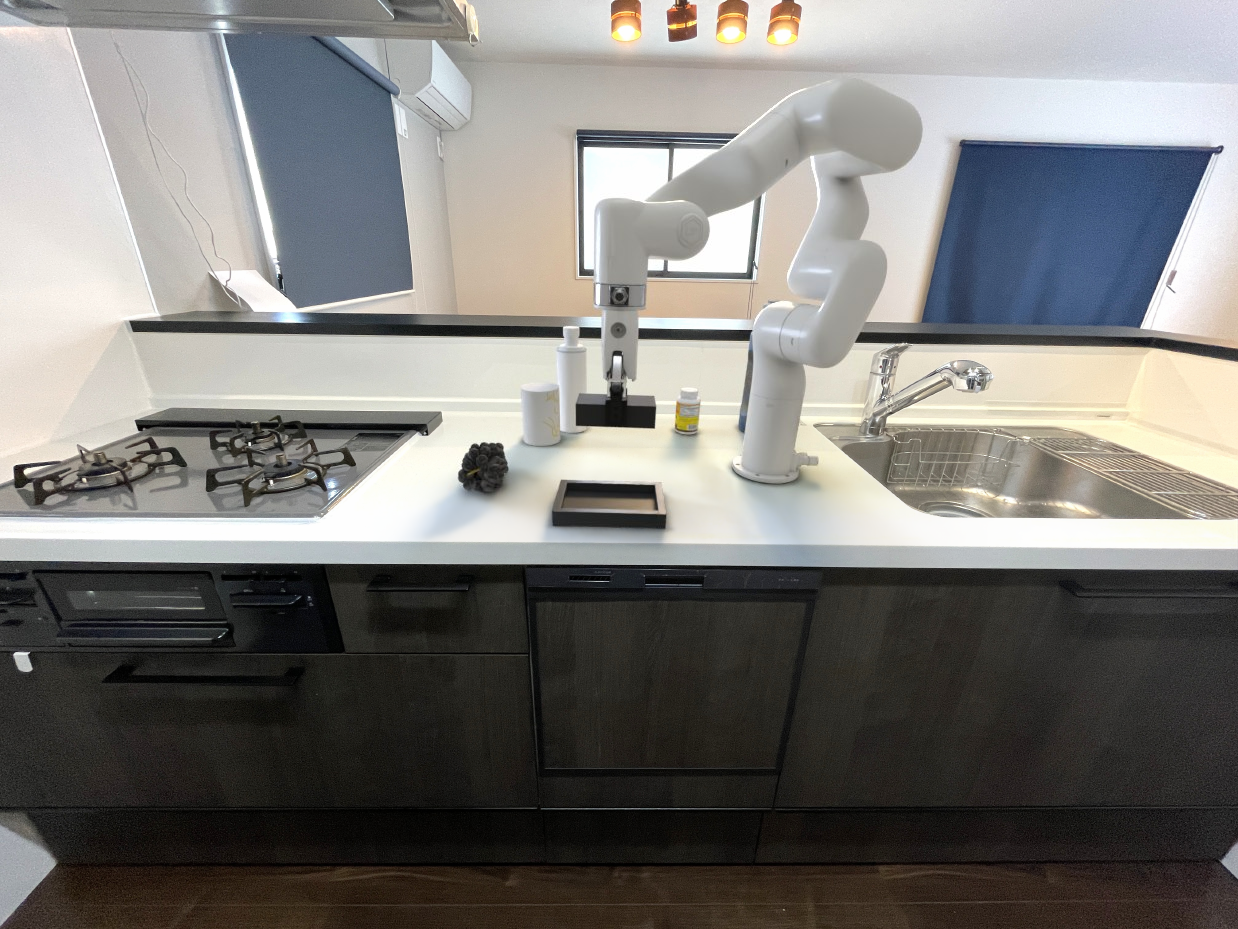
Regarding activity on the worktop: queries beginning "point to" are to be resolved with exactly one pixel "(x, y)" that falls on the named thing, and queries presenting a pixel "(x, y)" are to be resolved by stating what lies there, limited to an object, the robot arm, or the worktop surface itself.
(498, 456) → the fruit
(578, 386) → the tall white capped bottle
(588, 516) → the shallow rectangular tray
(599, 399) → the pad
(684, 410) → the supplement bottle
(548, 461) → the worktop surface
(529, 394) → the cup
